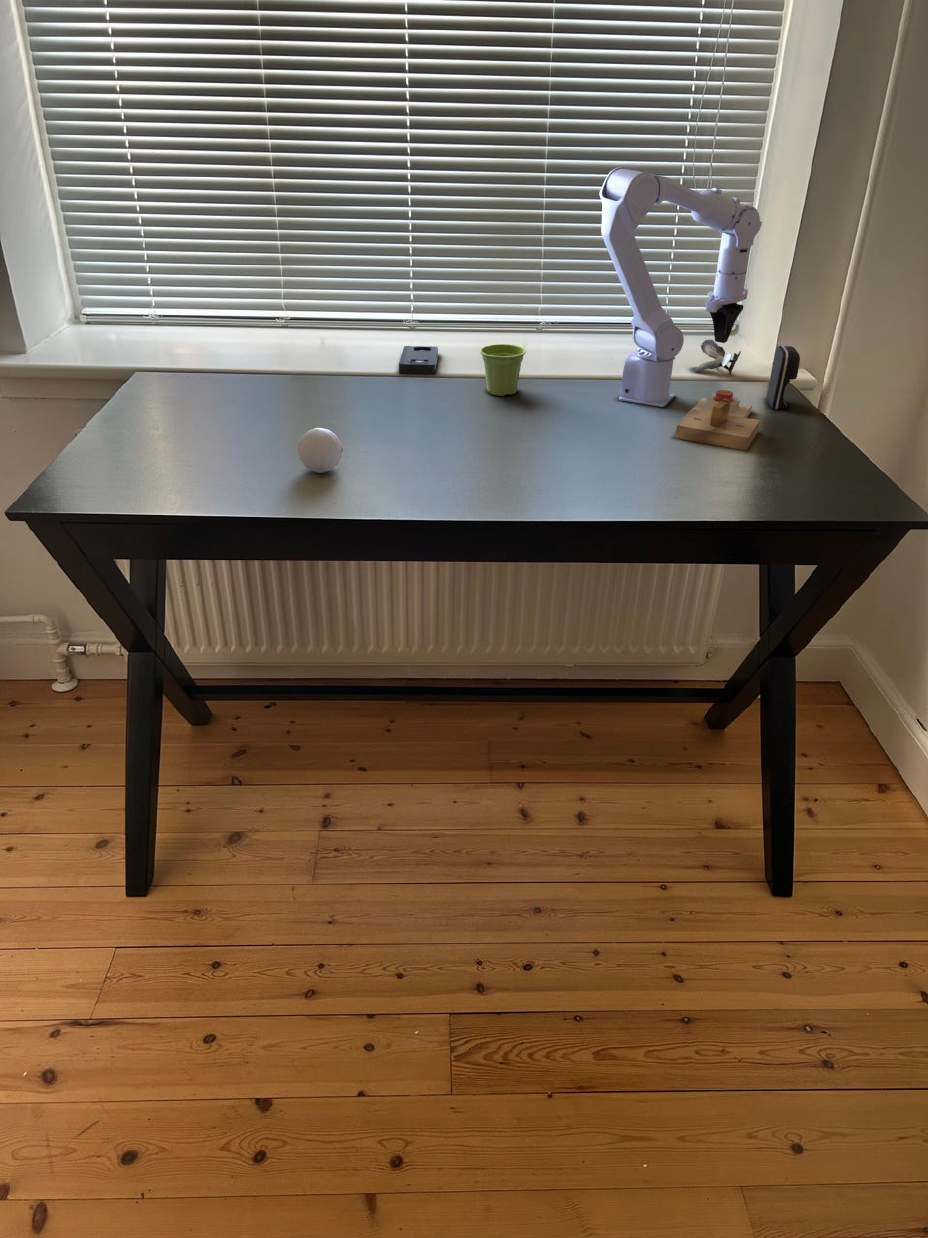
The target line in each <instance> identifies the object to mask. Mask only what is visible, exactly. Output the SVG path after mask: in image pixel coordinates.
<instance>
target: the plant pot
mask: <svg viewBox="0 0 928 1238" xmlns="http://www.w3.org/2000/svg"><path fill="white" fill-rule="evenodd" d="M526 352H527V350H526V348H524V347H522V346H520V345H515V344H508V343H497V344H496V343H495V344H489V345H485V346H483V347H481V348H480V349H479V353H480V355H481V358H482V360H483V364H484V373H485V380H486V381H485V382H486V391H487V392H489V394H490V395H492V396H499V397H503V396H506V395H509V396H511V395H513V394H517V391H518V385H519V378H520V372H521V368H522V367H521V366H522V361H523V360H524V355H525V354H526Z"/></svg>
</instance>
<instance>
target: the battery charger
mask: <svg viewBox="0 0 928 1238" xmlns="http://www.w3.org/2000/svg"><path fill="white" fill-rule="evenodd" d="M800 362H801V356H800V353H799V352H798V350H797V349H796V347H794V346H791V345H778V346H777V347H776V349H775V351H774V357H773V362H772V367H771V371H770V372H771V373H770V376H769V383H768V387H767V393H766V398H765V399H766V401H767V402H768V404H769V406H770V407H771V409H773V410H785V409H787V408H788V404H787V402H786V400H785V399H784V395H785V390H786V387H787V385H788V384H790V381H791V380H797V378H798V374H799V370H800V364H801V363H800Z"/></svg>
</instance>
